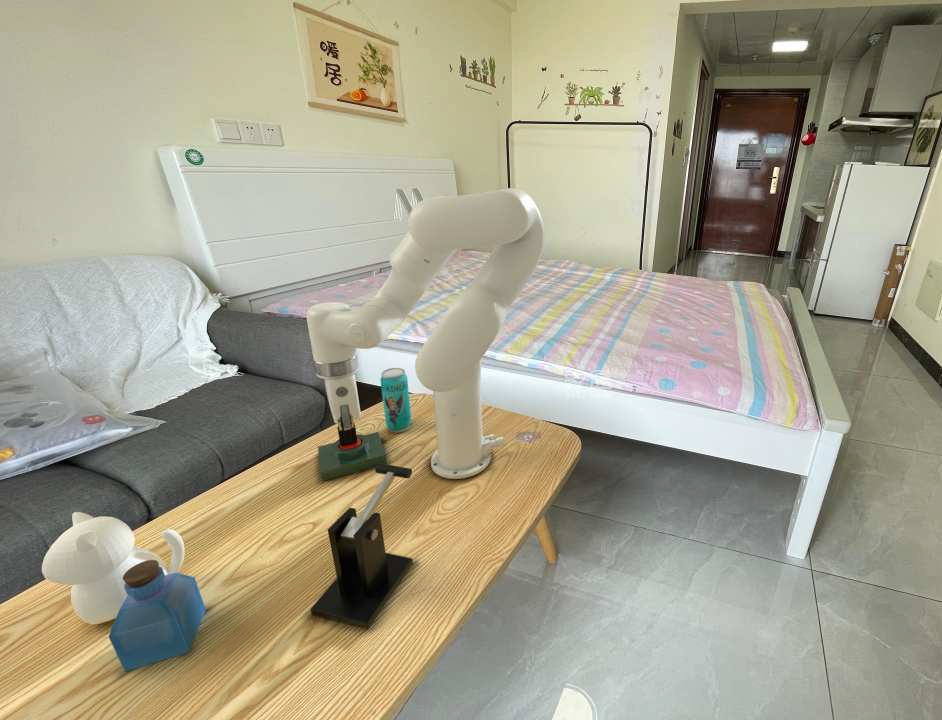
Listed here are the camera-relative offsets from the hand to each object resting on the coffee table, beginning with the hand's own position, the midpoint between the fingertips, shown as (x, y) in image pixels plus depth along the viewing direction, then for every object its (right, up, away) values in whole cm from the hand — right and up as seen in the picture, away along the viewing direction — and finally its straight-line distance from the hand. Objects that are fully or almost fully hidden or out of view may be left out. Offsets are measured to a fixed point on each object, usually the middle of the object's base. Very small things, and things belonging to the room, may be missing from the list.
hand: (348, 442), depth 93 cm
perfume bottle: (-4, -17, -35) cm, 39 cm away
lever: (+19, -3, -26) cm, 33 cm away
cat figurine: (-14, -15, -30) cm, 36 cm away
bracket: (+18, -15, -27) cm, 35 cm away
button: (0, -2, +1) cm, 2 cm away
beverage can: (+5, 0, +14) cm, 14 cm away
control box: (0, -4, +1) cm, 4 cm away
